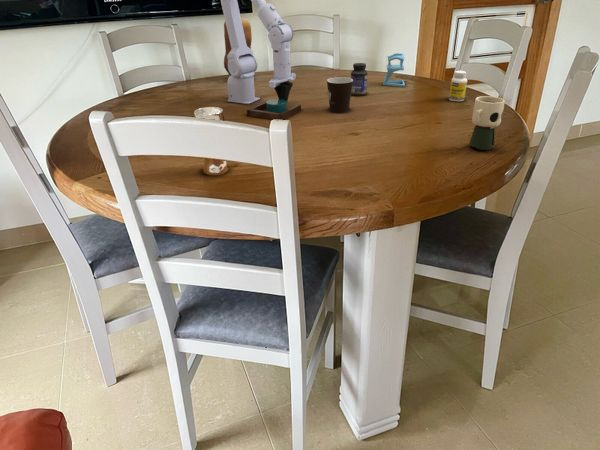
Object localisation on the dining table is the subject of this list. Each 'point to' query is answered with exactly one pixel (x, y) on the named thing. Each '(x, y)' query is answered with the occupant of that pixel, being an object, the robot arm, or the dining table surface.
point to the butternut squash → (228, 48)
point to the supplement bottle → (458, 86)
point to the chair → (394, 68)
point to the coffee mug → (339, 94)
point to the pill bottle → (359, 79)
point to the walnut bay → (258, 112)
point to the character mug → (486, 121)
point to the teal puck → (276, 105)
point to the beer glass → (212, 165)
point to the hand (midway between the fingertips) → (283, 104)
